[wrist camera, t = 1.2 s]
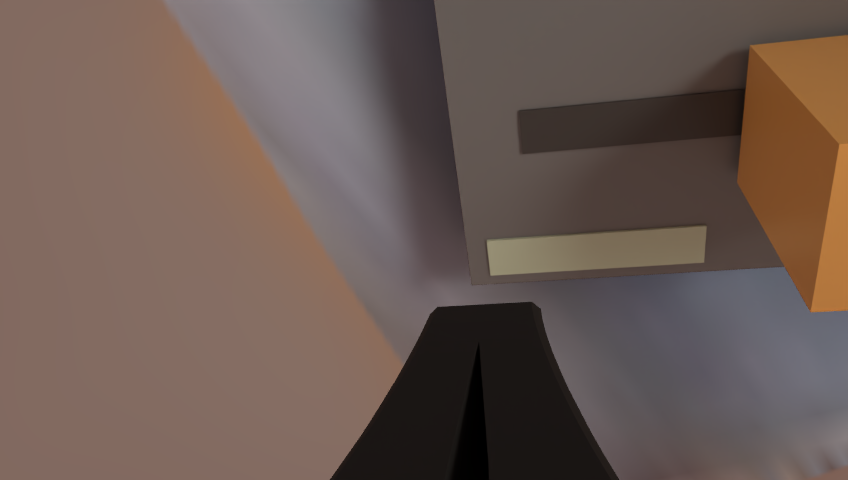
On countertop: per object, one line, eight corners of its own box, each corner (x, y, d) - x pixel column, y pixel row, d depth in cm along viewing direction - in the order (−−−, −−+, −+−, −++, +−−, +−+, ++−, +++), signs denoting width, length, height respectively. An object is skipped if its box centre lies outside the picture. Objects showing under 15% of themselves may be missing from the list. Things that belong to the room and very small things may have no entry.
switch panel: (1312, -192, 13) (1436, -188, 11) (1145, 195, 17) (1216, 242, 16) (435, -72, 16) (426, -53, 14) (474, 241, 20) (471, 286, 18)
